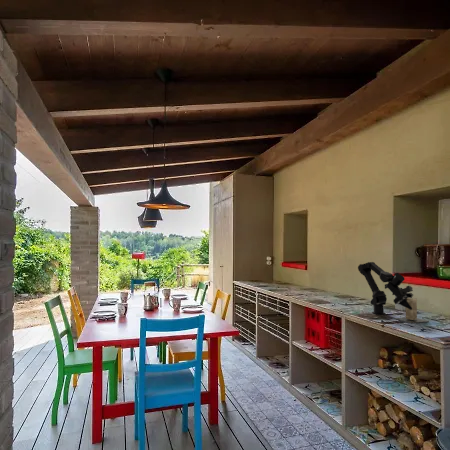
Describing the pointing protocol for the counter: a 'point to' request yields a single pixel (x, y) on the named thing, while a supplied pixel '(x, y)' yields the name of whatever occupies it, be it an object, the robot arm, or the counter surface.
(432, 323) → the counter surface
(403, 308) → the supplement box
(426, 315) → the counter surface
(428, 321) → the post plate
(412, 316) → the birch post
